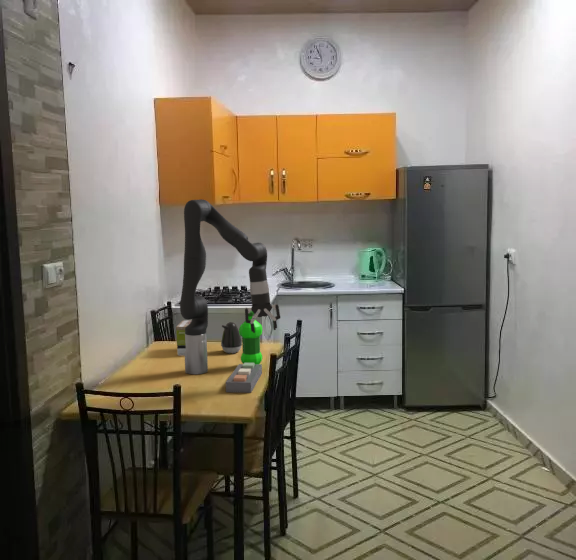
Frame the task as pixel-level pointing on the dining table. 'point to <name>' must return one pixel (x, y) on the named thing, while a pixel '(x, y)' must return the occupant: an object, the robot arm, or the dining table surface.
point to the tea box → (181, 337)
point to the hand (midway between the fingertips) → (264, 331)
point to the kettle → (231, 338)
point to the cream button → (244, 372)
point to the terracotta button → (240, 378)
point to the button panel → (241, 385)
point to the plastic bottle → (251, 341)
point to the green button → (248, 365)
